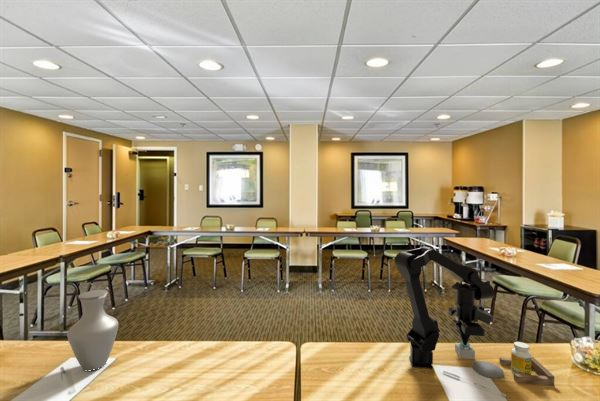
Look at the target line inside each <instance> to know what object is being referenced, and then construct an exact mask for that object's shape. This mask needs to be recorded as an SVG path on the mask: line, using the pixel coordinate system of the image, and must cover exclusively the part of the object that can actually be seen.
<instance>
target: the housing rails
mask: <svg viewBox="0 0 600 401" xmlns="http://www.w3.org/2000/svg"><path fill="white" fill-rule="evenodd" d="M498 363H499V364H500V366H505V367H511V357H502V356H501V357H499V362H498ZM531 371H533V372H534V373H535V375H534V374H531V375H526V374H515V373H513V381H514V382H515V383H517V384H527V385H528V384H529V385H541V386H550V387H555V375H553V374H552V373H551V372H550V371H549V369H547V368H546V367H545V366H544V365H543V364H541V362H539V361H538V360H537V359H536V358H535V357H534V356H532V357H531Z"/></svg>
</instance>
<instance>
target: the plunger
mask: <svg viewBox="0 0 600 401" xmlns="http://www.w3.org/2000/svg"><path fill="white" fill-rule="evenodd" d="M459 343H460V345H461V349H469V347H470V345H471V344H470V342H467V344H463V342H462V341H460V342H459Z"/></svg>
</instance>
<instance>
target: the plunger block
mask: <svg viewBox="0 0 600 401" xmlns="http://www.w3.org/2000/svg"><path fill="white" fill-rule="evenodd" d="M454 351H455V353H456V355H457V357H458V358H459V359H466V360H467V359H468V360H469V359H470V360H476V350H475V349H474V347H473V346H472V345H471V344H470V347H469V349H461V345H460V342H459V343H458V342H455V344H454Z"/></svg>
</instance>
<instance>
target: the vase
mask: <svg viewBox="0 0 600 401" xmlns="http://www.w3.org/2000/svg"><path fill="white" fill-rule="evenodd" d="M108 293H109V291H107V290H106V289H95V290H88V291H85V292H82V293H80V294H79V295H77V298H78V299H79V301H80V303H81V305H82V308H83V311H82V315H81V317H80V318H79V320H77V321H76V322H75V323H74V324H72V325H71V327H70V328H69V329H68V330H67V336H66V338H67V341H68V344H69V345H70V347H71V350H72V352H73V354H74V356H75V359H76V361H77V362H78V365H79V366H80V367H81V368H82V370H83V369H84V370H93V369H98V368H100V367H102V366H104V365H105V366H106V365H107V363H106V362H108V360H109V357H110V354H111V352H112V350H113V347H114V344H115V341H116V337H117V333H118V330H119V324H120V323H119V321H118V319H117V318H115V317H114V316H112V315H109V314H107V313H106V311H105V309H104V302H105V300H106V297H107V295H108ZM105 366H104V367H105ZM102 368H103V367H102ZM100 369H101V368H100ZM84 370H83V371H84ZM98 370H99V369H98Z"/></svg>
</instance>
